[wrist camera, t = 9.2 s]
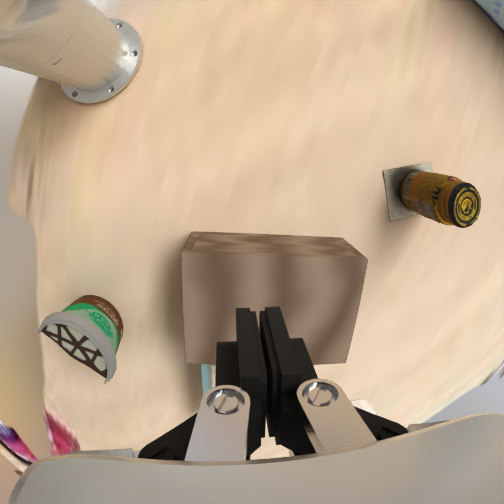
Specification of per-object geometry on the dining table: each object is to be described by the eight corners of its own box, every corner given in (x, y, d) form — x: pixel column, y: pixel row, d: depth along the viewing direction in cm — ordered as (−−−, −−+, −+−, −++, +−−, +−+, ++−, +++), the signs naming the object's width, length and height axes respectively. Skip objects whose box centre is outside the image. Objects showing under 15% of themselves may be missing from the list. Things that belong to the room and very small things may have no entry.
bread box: (193, 325, 45) (185, 363, 36) (192, 231, 41) (181, 252, 32) (328, 327, 46) (345, 362, 37) (342, 237, 42) (368, 259, 33)
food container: (145, 320, 44) (127, 360, 35) (127, 345, 45) (108, 386, 36) (79, 271, 41) (46, 300, 32) (65, 299, 43) (34, 331, 33)
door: (196, 329, 44) (190, 358, 37) (210, 330, 44) (206, 359, 37) (201, 407, 49) (198, 437, 42) (213, 407, 49) (211, 438, 42)
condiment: (435, 209, 41) (487, 229, 30) (389, 221, 42) (436, 245, 30) (430, 161, 39) (484, 169, 28) (382, 170, 39) (431, 179, 28)
